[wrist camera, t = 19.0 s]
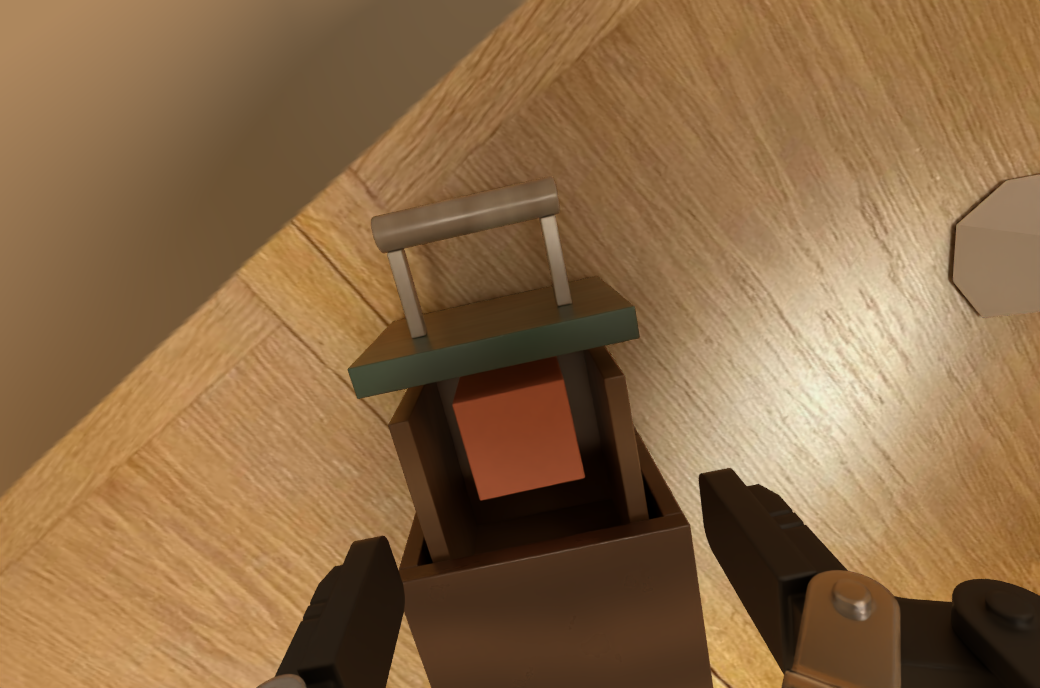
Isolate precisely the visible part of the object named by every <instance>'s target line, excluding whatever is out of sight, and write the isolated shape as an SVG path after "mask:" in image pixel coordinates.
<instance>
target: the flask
mask: <svg viewBox="0 0 1040 688" xmlns="http://www.w3.org/2000/svg"><path fill="white" fill-rule="evenodd" d="M953 282H954V283H955V285H956V286H957V287H958V288H959V289H960V291H961V292H962V293H963V294H964V296H965V297H966V298H967V299H968V301H969V302H970V303H971V304H972V305H973V307H974V308H975V309H976V310H977V312H978V313H979V314H980V315H981V316H982V318H987V317H998V316H1008V315H1016V314H1025V313H1034V312H1040V174H1039V175H1033V176H1028V177H1022V178H1017V179H1011V180H1006V181H1005V182H1004V183H1003V184H1002V185H1001V186H1000V187H998V188H997V189H996V190H995V191H994V192H993V193H992V194H991V195H989V196H988V197H987V198H986V199H985V200H984V201H983V202H982V203H980V204H979V205H978V206H977V207H976V208H975V209H974V210H973V211H971V212H970V213H969V214H968V215H967V216H966V217H965V218H964V219H962V220H961V221H960V222H959V223H958V224H957V225H956V240H955V254H954V269H953Z"/></svg>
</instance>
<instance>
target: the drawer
mask: <svg viewBox="0 0 1040 688" xmlns="http://www.w3.org/2000/svg"><path fill="white" fill-rule="evenodd" d="M558 213H560V205H559V198H558V193H557V188H556V184H555V180H554V178H553V176H548V177H544V178H540V179H535V180H531V181H527V182H522V183H518V184H514V185H509V186H505V187H501V188H496V189H492V190H488V191H483V192H479V193H475V194H470V195H466V196H462V197H457V198H453V199H449V200H444V201H440V202H435V203H431V204H427V205H422V206H418V207H414V208H409V209H405V210H401V211H396V212H392V213H388V214H383V215H379V216H375V217H373V218H372V219H371V229H372V233H373V237H374V240H375V243H376V245H377V247H378V249H379V250H380V251H381V252H382V253H387V252H388V253H387V256H388V259H389V263H390V266H391V270H392V273H393V276H394V280H395V283H396V287H397V290H398V293H399V297H400V300H401V304H402V307H403V310H404V314H405V317H406V318H405V319H401V320H396V321H393V322H392V323H391V324H390V325H389V326H388V327H387V328H386V329H385V330H384V331H383V332H382V333H381V335H380V336H379V337H378V338H377V339H376V340H375V341H374V342H373V343H372V344H371V345H370V346H369V347H368V348H367V349H366V350H365V351H364V352H363V353H362V354H361V356H360V357H359V358H358V359H357V360H356V361H355V362H354V363H353V364H352V365H351V366H350V367H349V368H348V372H349V375H350V378H351V381H352V384H353V387H354V390H355V393H356V396H357V398H358V399H360V398H365V397H370V396H374V395H379V394H383V393H388V392H393V391H397V390H402V389H407V388H408V389H407V391H406V393H405V395H404V397H403V398H402V400H401V402H400V404H399V406H398V408H397V410H396V412H395V413H394V415H393V417H392V419H391V421H390V423H389V425H388V426H389V430H390V433H391V436H392V439H393V442H394V445H395V448H396V451H397V454H398V457H399V460H400V463H401V467H402V470H403V473H404V476H405V479H406V482H407V485H408V488H409V491H410V494H411V497H412V500H413V503H414V507H415V510H416V513H417V516H418V519H419V522H420V525H421V528H422V531H423V534H424V537H425V540H426V544H427V547H428V550H429V553H430V556H431V559H432V562H433V563H437V562H442V561H447V560H452V559H457V558H462V557H467V556H471V555H476V554H481V553H486V552H491V551H496V550H501V549H506V548H511V547H516V546H521V545H526V544H531V543H536V542H541V541H546V540H551V539H555V538H560V537H565V536H570V535H575V534H580V533H585V532H590V531H595V530H600V529H605V528H610V527H615V526H620V525H625V524H630V523H635V522H639V521H644V520H649V515H648V509H647V503H646V498H645V492H644V486H643V480H642V474H641V468H640V462H639V456H638V450H637V444H636V438H635V433H634V427H633V421H632V415H631V409H630V403H629V397H628V391H627V385H626V379H625V375H624V374H623V372H622V371H621V369H620V368H619V366H618V365H617V363H616V362H615V360H614V359H613V357H612V356H611V354H610V353H609V351H608V350H607V348H606V347H605V345H610V344H615V343H619V342H624V341H628V340H633V339H638V338H639V337H640V336H639V330H638V324H637V317H636V311H635V306H634V305H632V304H631V303H630V302H629V301H627V300H626V299H625V298H624V297H623V296H621V295H620V294H619V293H618V292H617V291H615V290H614V289H613V288H612V287H611V286H609V285H608V284H607V283H606V282H604V281H603V280H602V279H601V278H600V277H598V276H594V277H590V278H585V279H581V280H576V281H572V282H568V278H567V273H566V268H565V263H564V258H563V252H562V247H561V242H560V237H559V232H558V226H557V221H556V216H555V215H554V214H558ZM537 218H539V221H540V225H541V230H542V235H543V240H544V245H545V250H546V255H547V260H548V265H549V270H550V275H551V280H552V285H553V286H549V287H545V288H540V289H536V290H531V291H527V292H522V293H518V294H513V295H509V296H504V297H500V298H495V299H491V300H486V301H482V302H477V303H473V304H468V305H464V306H459V307H455V308H450V309H446V310H441V311H437V312H432V313H428V314H423V313H422V310H421V306H420V303H419V299H418V296H417V292H416V289H415V285H414V282H413V278H412V274H411V271H410V267H409V264H408V260H407V257H406V253H405V250H404V249H405V248H409V247H414V246H418V245H422V244H427V243H431V242H436V241H440V240H444V239H449V238H453V237H458V236H462V235H466V234H471V233H475V232H480V231H484V230H488V229H493V228H497V227H502V226H506V225H510V224H515V223H519V222H524V221H528V220H532V219H537ZM554 356H557V360H558V363H559V366H560V369H561V372H562V375H563V379H564V382H565V387H566V391H567V396H568V401H569V405H570V410H571V414H572V419H573V423H574V428H575V432H576V437H577V442H578V446H579V451H580V455H581V460H582V464H583V469H584V473H585V478H583V479H579V480H574V481H569V482H565V483H560V484H555V485H551V486H546V487H542V488H537V489H532V490H528V491H523V492H519V493H514V494H509V495H505V496H500V497H496V498H491V499H486V500H480V499H479V495H478V492H477V488H476V485H475V482H474V478H473V475H472V471H471V468H470V464H469V461H468V458H467V454H466V451H465V447H464V444H463V441H462V437H461V434H460V430H459V427H458V424H457V420H456V417H455V413H454V410H453V406H452V404H453V400H454V396H455V393H456V389H457V385H458V382H459V378H460V377H462V376H467V375H471V374H476V373H480V372H485V371H490V370H494V369H499V368H504V367H508V366H513V365H517V364H522V363H527V362H531V361H536V360H541V359H545V358H550V357H554Z"/></svg>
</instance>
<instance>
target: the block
mask: <svg viewBox="0 0 1040 688" xmlns="http://www.w3.org/2000/svg"><path fill="white" fill-rule="evenodd" d="M452 406H453V410H454V413H455V417H456V420H457V424H458V427H459V430H460V434H461V437H462V441H463V444H464V447H465V451H466V454H467V458H468V461H469V464H470V468H471V471H472V475H473V478H474V482H475V485H476V488H477V492H478V495H479V499H480V500H486V499H491V498H496V497H500V496H505V495H509V494H514V493H519V492H523V491H528V490H532V489H537V488H542V487H546V486H551V485H555V484H560V483H565V482H569V481H574V480H579V479H583V478H585V473H584V469H583V464H582V460H581V455H580V451H579V446H578V442H577V437H576V432H575V428H574V423H573V419H572V414H571V410H570V405H569V401H568V396H567V391H566V387H565V382H564V379H563V375H562V372H561V369H560V366H559V363H558V360H557V356H554V357H550V358H545V359H541V360H536V361H531V362H527V363H522V364H517V365H513V366H508V367H504V368H499V369H494V370H490V371H485V372H480V373H476V374H471V375H467V376H462V377H460V378H459V382H458V385H457V389H456V393H455V396H454V400H453V404H452Z"/></svg>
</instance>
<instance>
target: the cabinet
mask: <svg viewBox="0 0 1040 688" xmlns="http://www.w3.org/2000/svg"><path fill="white" fill-rule="evenodd" d="M633 427H634V433H635V438H636V444H637V450H638V456H639V462H640V468H641V474H642V480H643V486H644V492H645V498H646V503H647V509H648V515H649V520H644V521H639V522H635V523H630V524H625V525H620V526H615V527H610V528H605V529H600V530H595V531H590V532H585V533H580V534H575V535H570V536H565V537H560V538H555V539H551V540H546V541H541V542H536V543H531V544H526V545H521V546H516V547H511V548H506V549H501V550H496V551H491V552H486V553H481V554H476V555H471V556H467V557H462V558H457V559H452V560H447V561H442V562H437V563H433V562H432V559H431V556H430V553H429V550H428V547H427V544H426V540H425V537H424V534H423V531H422V528H421V525H420V522H419V519H418V516H417V513H415V517H414V520H413V524H412V527H411V530H410V534H409V537H408V541H407V544H406V547H405V551H404V554H403V557H402V561H401V564H400V568H399V574H400V577H401V579H402V583H403V586H404V593H405V607H404V612H405V615H406V618H407V621H408V624H409V626H410V629H411V632H412V635H413V638H414V641H415V643H416V646H417V649H418V652H419V655H420V657H421V660H422V663H423V666H424V669H425V671H426V674H427V677H428V680H429V683H430V685H431V688H713V682H712V675H711V668H710V661H709V654H708V647H707V640H706V633H705V626H704V619H703V612H702V605H701V598H700V591H699V584H698V577H697V570H696V563H695V556H694V549H693V542H692V535H691V528H690V524H689V522H688V520H687V519H686V517H685V515H684V513H683V512H682V510H681V508H680V507H679V505H678V503H677V501H676V499H675V498H674V496H673V494H672V492H671V491H670V489H669V487H668V485H667V483H666V482H665V480H664V478H663V476H662V475H661V473H660V471H659V469H658V467H657V466H656V464H655V462H654V460H653V459H652V457H651V455H650V453H649V452H648V450H647V448H646V446H645V444H644V443H643V441H642V439H641V437H640V436H639V434H638V432H637V430H636V428H635V426H634V425H633Z"/></svg>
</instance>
